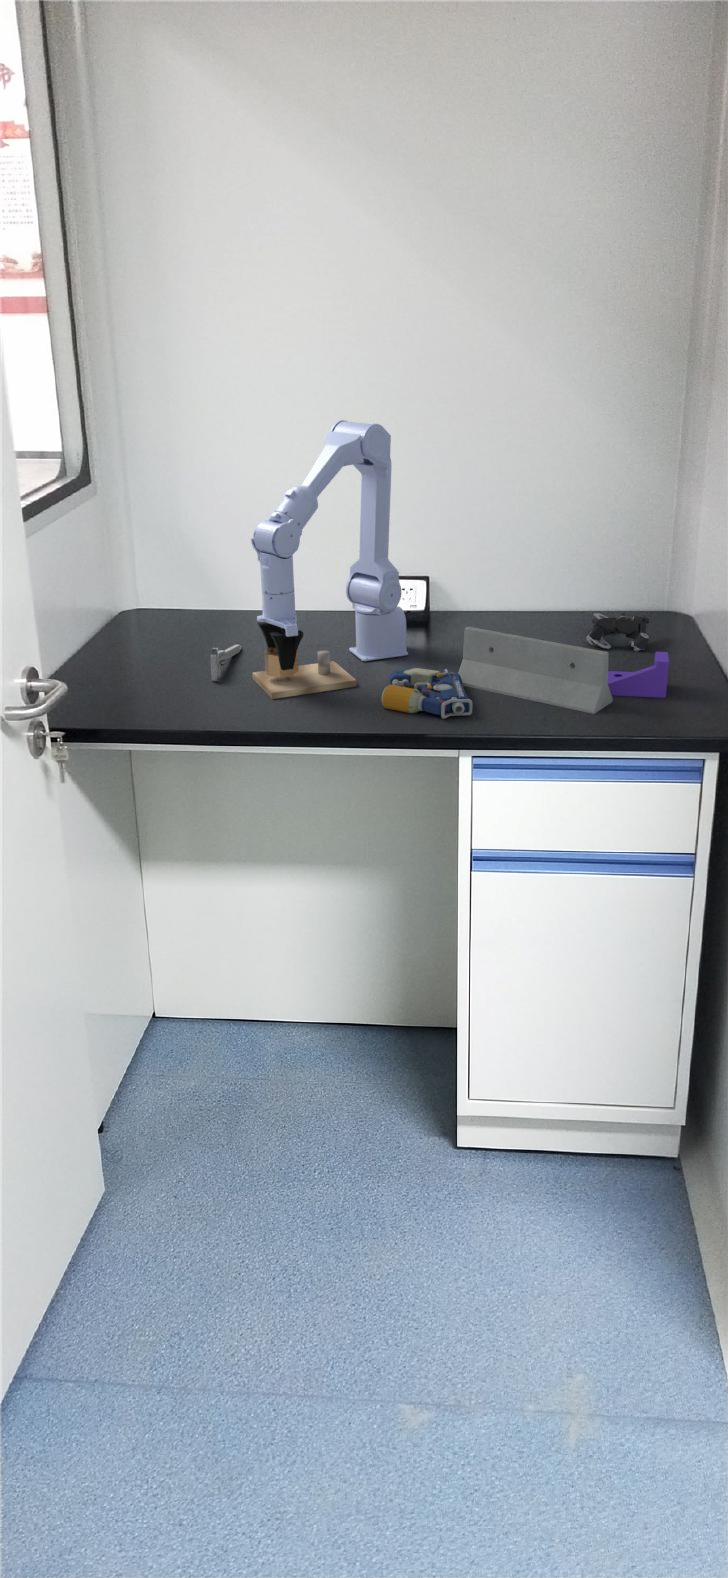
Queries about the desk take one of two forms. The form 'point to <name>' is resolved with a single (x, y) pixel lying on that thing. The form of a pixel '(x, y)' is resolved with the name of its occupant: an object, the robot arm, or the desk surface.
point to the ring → (277, 664)
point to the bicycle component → (619, 630)
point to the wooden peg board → (306, 679)
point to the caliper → (221, 659)
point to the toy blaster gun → (427, 692)
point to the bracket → (642, 680)
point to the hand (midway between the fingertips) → (282, 664)
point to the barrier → (536, 670)
